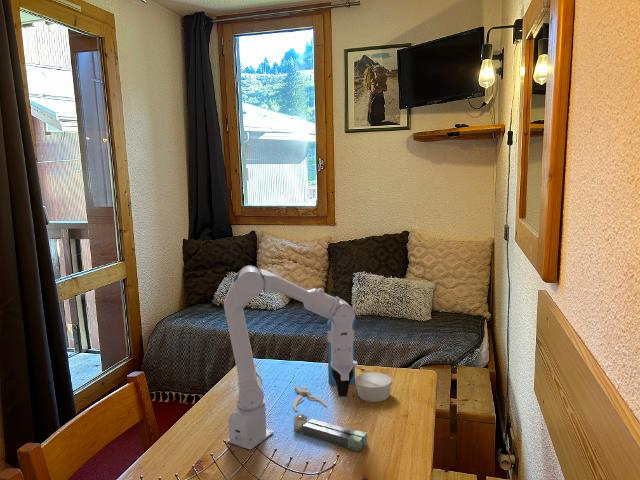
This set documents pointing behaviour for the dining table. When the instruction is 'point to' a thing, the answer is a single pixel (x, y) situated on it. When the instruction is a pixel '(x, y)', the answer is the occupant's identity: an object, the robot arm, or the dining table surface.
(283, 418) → the dining table surface
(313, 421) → the arm
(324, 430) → the tongs frame
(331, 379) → the water bottle
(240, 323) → the robot arm
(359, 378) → the ramekin
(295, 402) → the pliers
